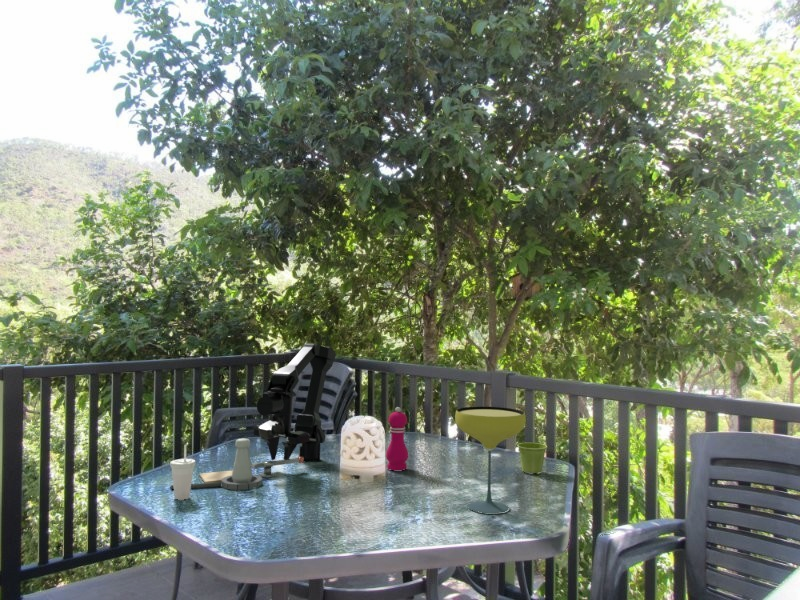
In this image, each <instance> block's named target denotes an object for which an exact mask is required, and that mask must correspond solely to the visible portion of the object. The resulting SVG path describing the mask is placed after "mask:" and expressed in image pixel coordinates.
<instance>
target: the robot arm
mask: <svg viewBox="0 0 800 600" xmlns="http://www.w3.org/2000/svg"><path fill="white" fill-rule="evenodd" d="M335 359H336V351H335V350H334V348H333V347H331V346H323V345H319V344H317V343H308V342H307V343H304V344H303V345H302V347H301V349H300V350H299V351H298V353H297V354H296V355H295V356H294V357H293V358H292V359H291V361H290V362H289V363H288V364H287V365H285V366H283V367H280V368H278V369H277V370H276V371H274V372H273V373H272V375H271V377H270V379H269V382H268V384H267V387H266V389H265V391H264V392H263V393H262V397H260V398H259V399H258V400H257V403H256V409H257V412H258V413H259V415H261V416H263V417H267V416H269V420H268V421H265V422H264V423H262V424H258V425H256V426H255V427H254V428H253V436H257V437H260V439H261V440H263V441H264V442H265V443H266V445H267V447H268V452H269V455H270V459H271V461H276V457H277V452H278V447H279V442H280V438H285V439H286V441H282V442H281V443H282V445H283V447H284V450H283V460H284V459H291V458H290V457H291V456H292V454H293V453H294V451H295V449H296V447H297V446H298V445H299V446H298V457H304V462H303V463H309V462H321V461H322V459H321V444H323V443H324V442H325V440H326V433H325V431H324V430H323V429H322V420H321V417H320V414H319V412H320V408H321V407H320V406H321V401H322V397H323V392H324V386H325V383H326V382H325V381H326V377H327V373H328V372H329V370H331V368H332V367H333V365H334V362H335ZM309 364H310V366H311V369H312V370H311V376H310V381H309V384H308V390H307V395H306V400H305V404H304V410H303V411H302V412H301V413H299V414H297V416H296V421H295V423H294V427H292V419H294V418H295V414H293V404H294V403H293V400H294V397H296V396H297V393H296V392H295V391H294V389H295V388H296V387H297V385H298V384H299V382H300V375H301V374H302V372H303V371H304V370H305V369H306V367H307V366H308V365H309Z"/></svg>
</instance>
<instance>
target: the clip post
mask: <svg viewBox="0 0 800 600" xmlns="http://www.w3.org/2000/svg"><path fill="white" fill-rule="evenodd" d="M258 476H261V477H262V479H270V478H274V477H276V473H275V472H272V467H263V472H260V473H259V474H258Z"/></svg>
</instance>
